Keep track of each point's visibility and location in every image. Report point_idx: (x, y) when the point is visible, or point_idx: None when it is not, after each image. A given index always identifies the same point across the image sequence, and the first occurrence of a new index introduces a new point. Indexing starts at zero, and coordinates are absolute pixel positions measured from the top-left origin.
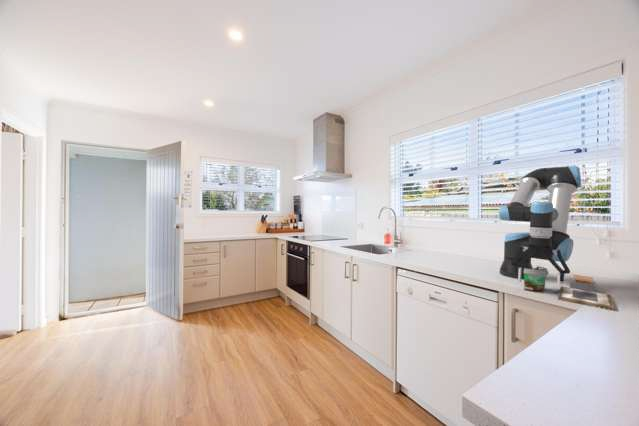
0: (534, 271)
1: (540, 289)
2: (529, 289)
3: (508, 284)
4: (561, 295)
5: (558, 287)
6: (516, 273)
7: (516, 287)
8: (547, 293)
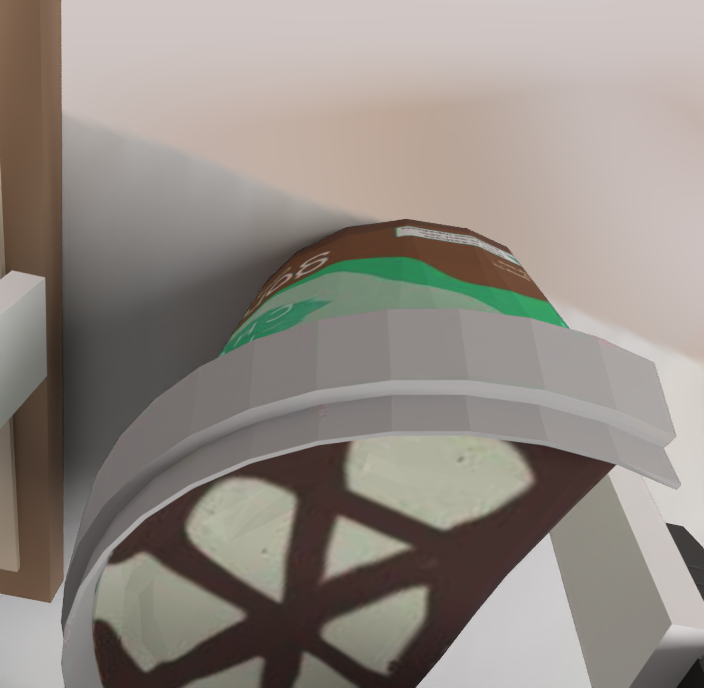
0: (386, 374)
1: (284, 270)
2: (443, 233)
3: (673, 439)
4: (4, 104)
5: (8, 287)
6: (677, 534)
7: (595, 335)
8: (202, 252)
